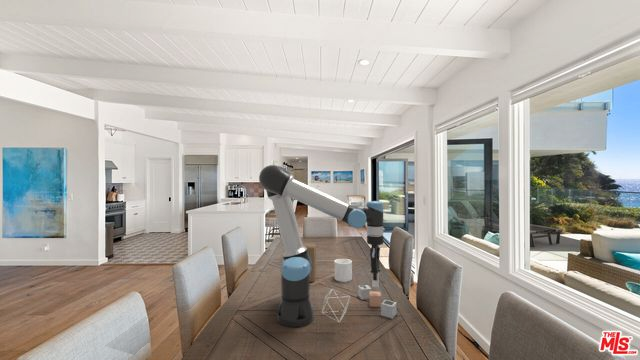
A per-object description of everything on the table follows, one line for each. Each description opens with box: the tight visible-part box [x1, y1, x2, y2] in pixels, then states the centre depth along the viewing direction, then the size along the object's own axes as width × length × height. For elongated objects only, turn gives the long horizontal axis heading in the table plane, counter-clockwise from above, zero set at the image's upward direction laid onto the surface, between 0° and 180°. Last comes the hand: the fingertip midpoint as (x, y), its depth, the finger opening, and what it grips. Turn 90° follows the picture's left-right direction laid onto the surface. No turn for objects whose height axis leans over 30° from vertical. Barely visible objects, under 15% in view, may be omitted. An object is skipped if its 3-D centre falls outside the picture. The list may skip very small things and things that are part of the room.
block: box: [302, 242, 317, 283], centre depth 159 cm, size 10×10×20 cm
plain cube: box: [369, 290, 382, 308], centre depth 127 cm, size 5×5×5 cm
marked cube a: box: [380, 299, 398, 320], centre depth 117 cm, size 5×5×5 cm
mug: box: [334, 258, 353, 283], centre depth 161 cm, size 13×10×10 cm
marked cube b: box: [357, 284, 372, 301], centre depth 135 cm, size 5×5×5 cm
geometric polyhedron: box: [321, 288, 351, 323], centre depth 117 cm, size 12×11×9 cm
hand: (375, 286), depth 127 cm, fingers closed
